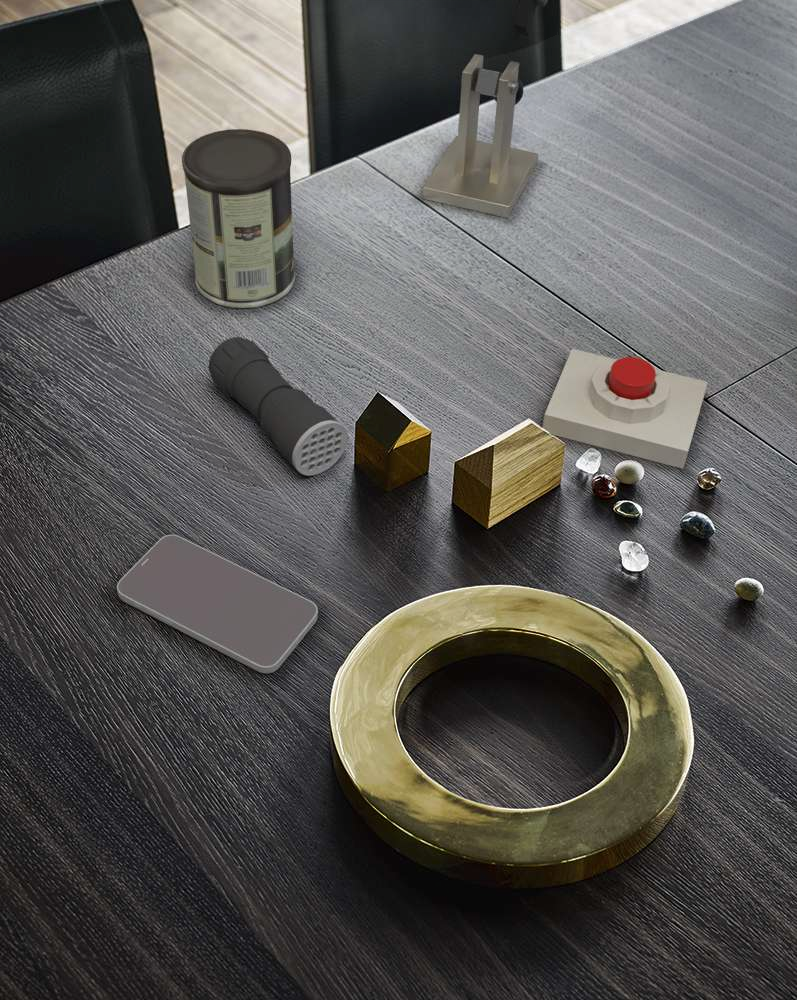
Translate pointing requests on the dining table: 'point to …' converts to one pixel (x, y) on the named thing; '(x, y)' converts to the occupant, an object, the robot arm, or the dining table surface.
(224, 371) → the flashlight
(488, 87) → the lever
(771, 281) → the dining table surface
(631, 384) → the stop button
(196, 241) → the coffee can
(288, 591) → the smartphone
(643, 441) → the stop box
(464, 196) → the stand
